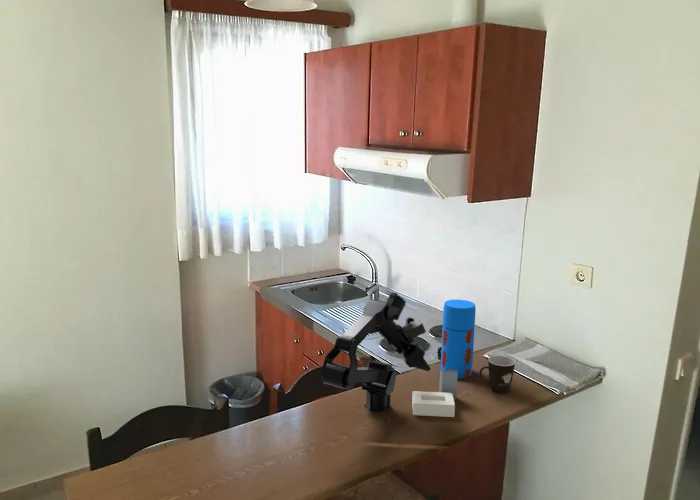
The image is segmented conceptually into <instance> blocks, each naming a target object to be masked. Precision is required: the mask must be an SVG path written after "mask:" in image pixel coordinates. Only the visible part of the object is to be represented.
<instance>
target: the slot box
mask: <svg viewBox="0 0 700 500" xmlns="http://www.w3.org/2000/svg"><path fill="white" fill-rule="evenodd" d="M411 398H412V399H411V401H412V402H411V405H412V416H420V417H421V416H424V417H425V416H427V417H444V418H447V417H448V418H450V417H451V418H455V415H456V413H455V411H456V410H455V409H456V405H455V404H456V403H455V399H453V394H452V393H442V392H439V391H417V390H416V391H414V390H412V396H411Z"/></svg>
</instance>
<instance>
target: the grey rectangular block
mask: <svg viewBox="0 0 700 500" xmlns="http://www.w3.org/2000/svg"><path fill="white" fill-rule="evenodd" d="M457 376H458V371H457V370H456V369H447V370H441V369H440V370H439V383H438V385H439V386H438V392H442V393H452V394H453V399H454V400H457V393H458V392H457V390H458V378H457Z"/></svg>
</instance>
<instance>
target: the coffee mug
mask: <svg viewBox="0 0 700 500" xmlns="http://www.w3.org/2000/svg"><path fill="white" fill-rule="evenodd" d="M487 363H488V366H487V365H485V366H483V367H481V368H480V370H479V376H480V377H481V378H482V379H483V380H484V381H486V382H488V384H489V388H490V389H491V392H492V393H495V394H500V395H503V394H504V395H505V394H509V393H510V392H511V387H512V381H513V377H514V372H515V367H516V360H515V359H514V358H512V357H509V356H505V355H491V356H489V357H488V358H487ZM485 369H488V379H489V380H488V379H487V378H485V377H484V376H483V374H482V372H483V371H484V370H485Z"/></svg>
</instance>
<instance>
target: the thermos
mask: <svg viewBox="0 0 700 500" xmlns="http://www.w3.org/2000/svg"><path fill="white" fill-rule="evenodd" d="M442 313H443V315H442V333H441V352H440V353H441V355H440V356H441V359H440V370H447V369H456V370H457V371H458V376H457V379H467V378H469V377H471V376H472V371H473V370H472V369H473V361H474V359H473V358H474V344H475V343H474V342H475V325H476V304H475V303H474V302H473V301H470V300H466V299H448V300H445V301H444V304H443V310H442Z"/></svg>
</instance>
